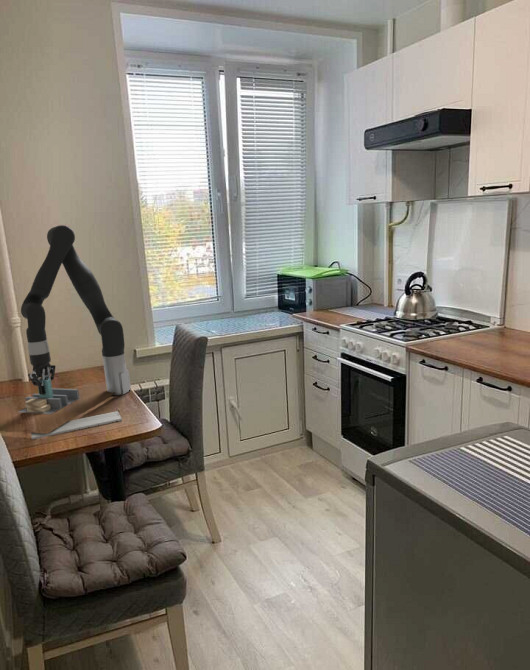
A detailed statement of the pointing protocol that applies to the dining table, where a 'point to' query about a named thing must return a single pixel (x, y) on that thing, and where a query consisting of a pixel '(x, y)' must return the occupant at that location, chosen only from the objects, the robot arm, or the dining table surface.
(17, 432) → the dining table surface
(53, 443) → the dining table surface
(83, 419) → the baseboard molding
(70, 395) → the rack
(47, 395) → the teal slat
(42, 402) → the offcut top
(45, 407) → the block
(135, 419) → the dining table surface
